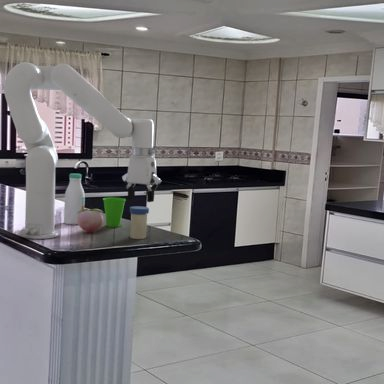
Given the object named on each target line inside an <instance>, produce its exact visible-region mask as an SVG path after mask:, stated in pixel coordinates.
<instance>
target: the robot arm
mask: <svg viewBox="0 0 384 384" xmlns="http://www.w3.org/2000/svg"><path fill="white" fill-rule="evenodd" d="M32 90H40V91H41V90H45V91H46V90H49V91H61V92H62V93H64V94H65V95H66V96H67V97H68V98H69V99H70V100H71V101H73V103H75V104H76V105H77V106H78V107H79V108H81V110H83V111H84V112H86V113H87V114H88V115H90V116H92V118H93V119H95V120H96V121H97V122H98V123H100V124H101V125H102V126H103V127H104V128H105V129H106V130H108V131H109V132H110V133H111V134H112V135H113V136H114V137H115V138H118V139H125V138H131V155H130V156H129V159H128V165H127V166H128V167H127V173H125V174H124V175H122V176H121V178H122V181H123V183H124V185H125V187H126V189H127V200H128V201H129V200H130V201H131V200H135V197H136V189H135V186H136V184H138V185H146V188H147V193H146V202H147V203H153V202H155V200H154V199H155V191H156V190H157V189H158V188H159V187H160V184H161V183H162V180H161V178H159V177H158V175H157V163H156V158H155V156H154V155H155V154H156V151H155V150H154V126H155V125H154V124H155V123H154V121H153V120H152V119H151V118H141V117H140V118H139V117H138V118H131V117H127V116H126V115H125V114H124V113H122V112H121V111H120V110H119V109H118V108H117V107H116V106H114V105H113V103H111V102H110V101H109V100H108V99H107V98H106V97H105V96H104V95H103V94H102V93H101V92H100V91H99V90H98V88H96V87H95V86H94V85H92V83H90V82H89V81H88V80H87V79H86V78H85V77H83V75H82V74H80V73H79V72H78V71H77V70H76V69H75V68H74V67H73V66H71V65H69V64H67V63H58V64H56V65H35V64H34V63H32V62H29V61H28V62H27V61H23V62H19V63H17V64H16V65H14V66H13V67H12V68H11V69H10V70H9V71H8V73H7V75H6V77H5V79H4V83H3V93H4V97H5V100H6V103H7V107H8V110H9V113H10V115H11V116H10V117H11V119H12V122H13V124H14V127H15V130H16V134H17V136H18V138H19V139H20V140H21V141H22V142H23V143H24V147H25V149H26V152H27V155H26V158H25V214H24V215H25V216H24V217H25V219H24V220H25V222H24V228H22V229H20V231H19V236H20V237H21V238H24V239H32V240H38V239H39V240H45V239H46V240H47V239H54V238H57V237H59V232H58V231H57V230H55V209H56V208H55V206H56V205H55V204H56V167H57V164H58V161H59V156H58V152H57V149H56V146H55V143H54V141H53V138H52V136H51V133H50V129H49V128H48V125H47V123H46V122H45V121H44V119H43V118H41V116H40V114H39V112H38V109H37V106H36V103H35V100H34V98H33V95H32Z"/></svg>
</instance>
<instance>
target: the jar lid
mask: <svg viewBox="0 0 384 384" xmlns="http://www.w3.org/2000/svg"><path fill="white" fill-rule="evenodd" d="M129 213H130V214H131V213H132V214H147V215H148V214H149V213H150V208H149V207H147V206H139V205H137V206H136V205H134V206H130V207H129Z"/></svg>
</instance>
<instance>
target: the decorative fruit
mask: <svg viewBox="0 0 384 384" xmlns="http://www.w3.org/2000/svg"><path fill="white" fill-rule="evenodd" d="M81 211H82V212H81ZM79 212H81V213H80V214H79V216H78V224H77V225H78V226H79V227H80V229H82V230H83V231H85V232H87V233H89V234H91V233H93V232H95V231H97V230H98V229H100V228H101V226H102V225H103V223H104V217H103V214H105V211H104V210H102V209H99V208H92V206H90V205H89V208H84V209H82V210H80V211H79ZM79 212H78V213H79ZM102 213H103V214H102Z"/></svg>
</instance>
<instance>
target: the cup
mask: <svg viewBox="0 0 384 384" xmlns="http://www.w3.org/2000/svg"><path fill="white" fill-rule="evenodd" d="M102 200H103V207H104V216H105V224H106V227H107V228H120V226H121V222H122V217H123V213H124V206H125V203H126V201H127V200H126V198H122V197H104V198H102Z"/></svg>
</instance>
